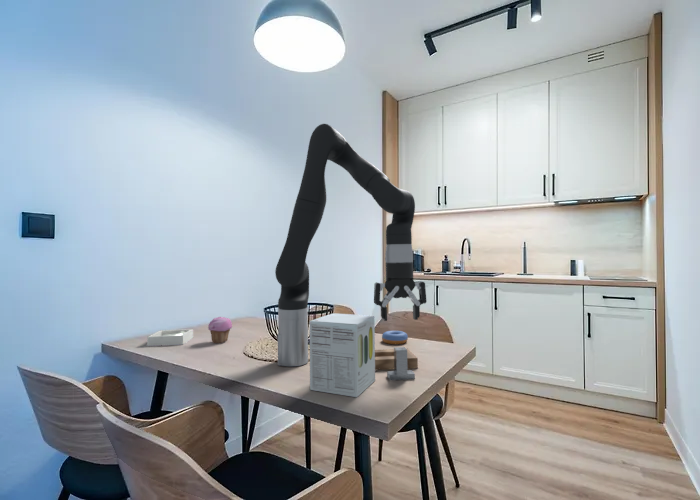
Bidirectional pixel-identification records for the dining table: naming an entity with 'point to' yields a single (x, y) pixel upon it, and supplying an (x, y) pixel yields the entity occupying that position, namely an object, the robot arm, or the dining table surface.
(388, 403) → the dining table surface
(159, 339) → the tray
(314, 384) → the supplement box
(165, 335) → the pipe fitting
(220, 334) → the cupcake
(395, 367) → the grey metal t-block
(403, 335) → the doughnut
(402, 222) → the robot arm
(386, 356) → the frame
